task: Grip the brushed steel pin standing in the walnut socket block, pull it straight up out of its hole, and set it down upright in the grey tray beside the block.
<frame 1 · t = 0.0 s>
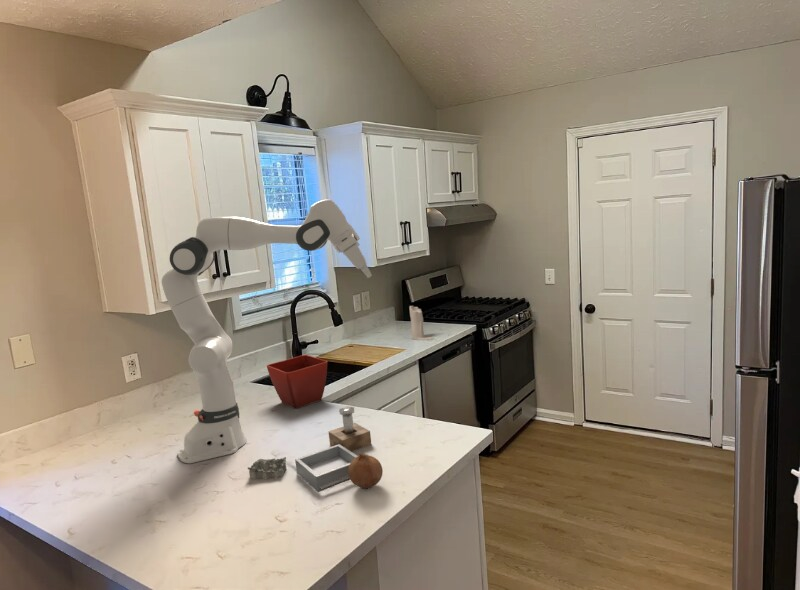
hand: (369, 275, 185), 54 cm above the worktop, tool tilted 30°, fingers open, 8 cm apart
grey tray: (330, 473, 161), on the worktop
egg carton: (268, 474, 165), on the worktop
socket block: (350, 448, 177), on the worktop
candle: (423, 338, 321), on the worktop
steel pin: (350, 444, 176), point 1 cm above the worktop, touching socket block
plant pot: (301, 402, 228), on the worktop
onion: (367, 488, 150), on the worktop
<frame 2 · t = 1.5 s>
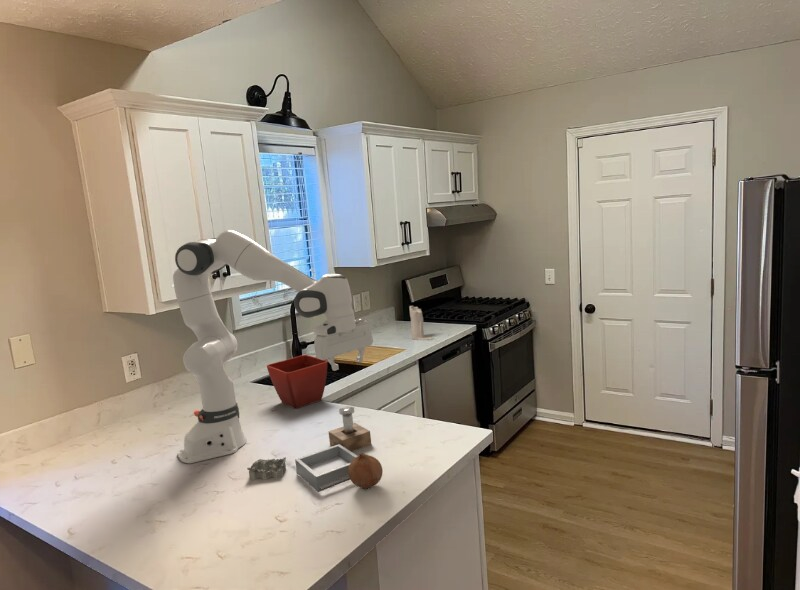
hand: (348, 365, 174), 27 cm above the worktop, tool pointing down, fingers open, 8 cm apart
nothing on the worktop moved.
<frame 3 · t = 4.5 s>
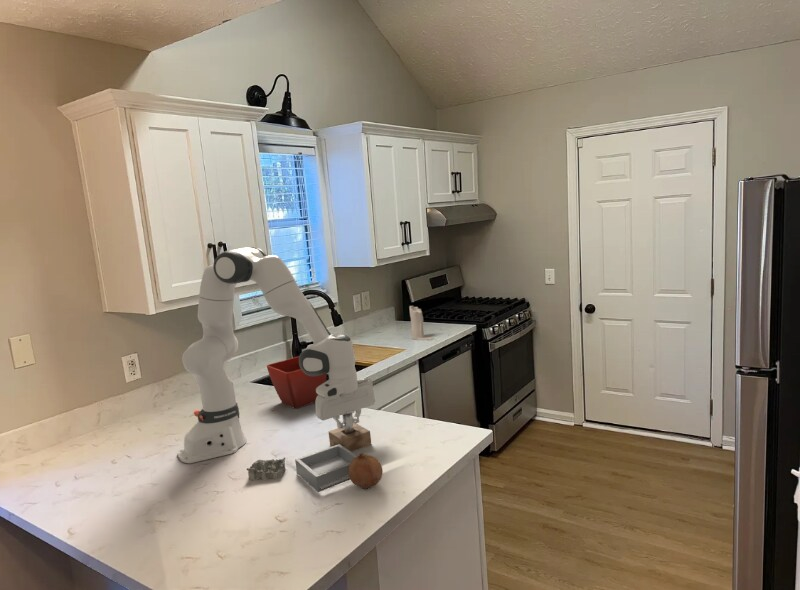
hand: (348, 425, 175), 8 cm above the worktop, tool pointing down, fingers closed on steel pin, 4 cm apart
steel pin: (350, 444, 176), point 2 cm above the worktop, touching gripper, socket block
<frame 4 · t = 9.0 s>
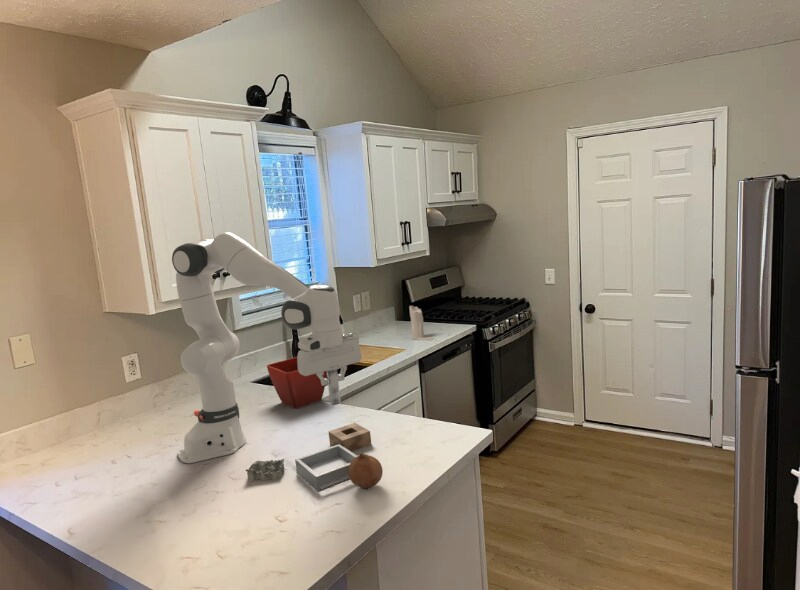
hand: (333, 382, 165), 25 cm above the worktop, tool pointing down, fingers closed on steel pin, 4 cm apart
steel pin: (335, 403, 166), point 19 cm above the worktop, touching gripper
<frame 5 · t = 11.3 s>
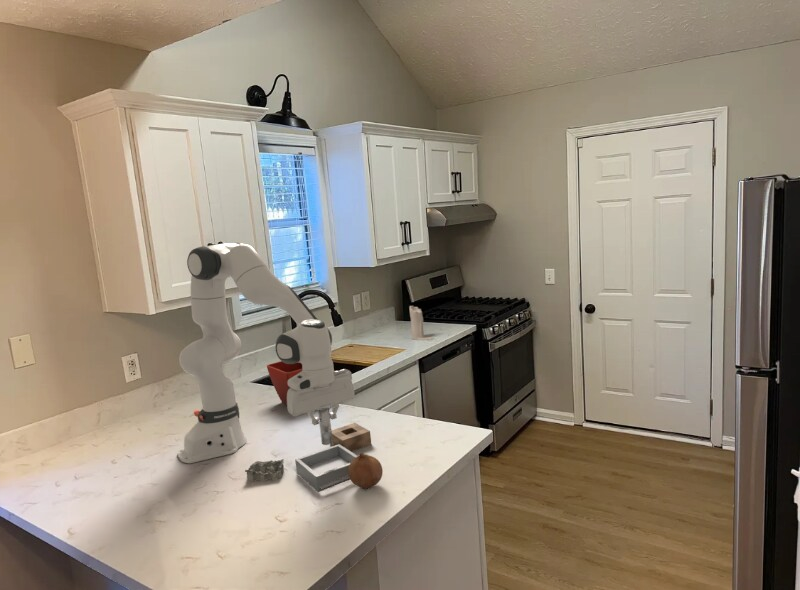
hand: (324, 421, 158), 16 cm above the worktop, tool pointing down, fingers closed on steel pin, 4 cm apart
steel pin: (327, 442, 159), point 10 cm above the worktop, touching gripper
when the fingers open (9 cm above the worktop, at t = 13.4 s): steel pin drops 1 cm, resting on grey tray.
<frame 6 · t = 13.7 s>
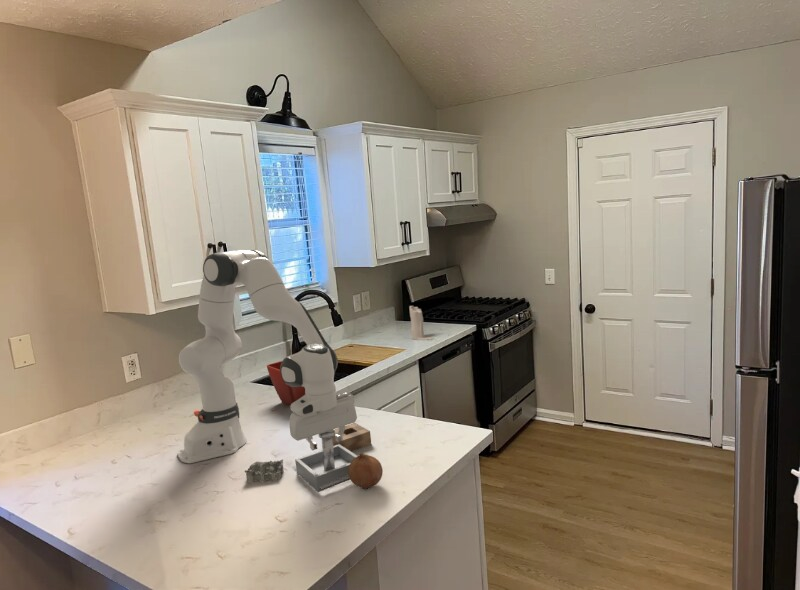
hand: (326, 444, 159), 9 cm above the worktop, tool pointing down, fingers open, 7 cm apart
steel pin: (329, 470, 160), point 1 cm above the worktop, touching grey tray
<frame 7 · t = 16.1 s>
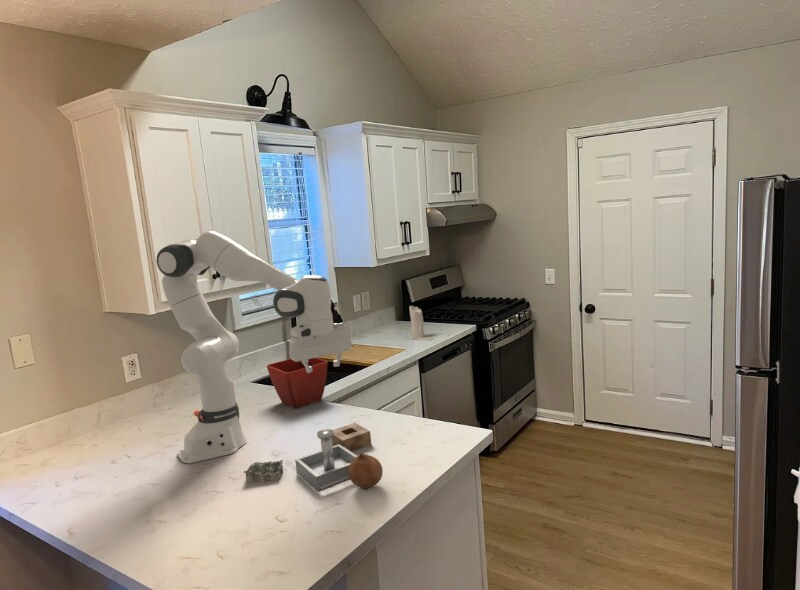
hand: (323, 369, 172), 28 cm above the worktop, tool pointing down, fingers open, 8 cm apart
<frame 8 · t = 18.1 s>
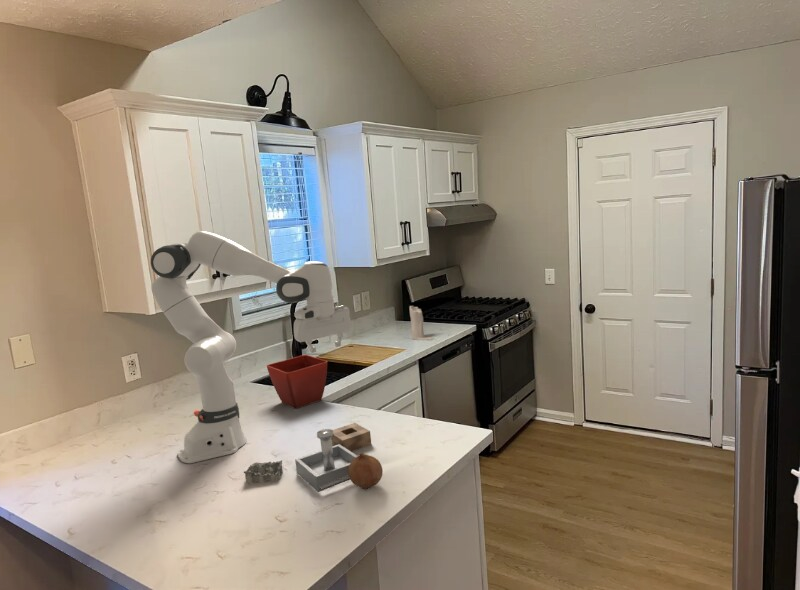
hand: (325, 349, 183), 31 cm above the worktop, tool pointing down, fingers open, 8 cm apart
at the end: steel pin inside the target area on the grey tray (0.1 cm from its centre), point 1.0 cm above the grey tray's base; the gripper is holding nothing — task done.
